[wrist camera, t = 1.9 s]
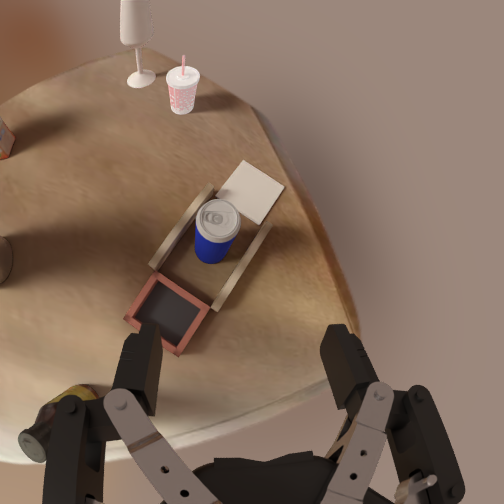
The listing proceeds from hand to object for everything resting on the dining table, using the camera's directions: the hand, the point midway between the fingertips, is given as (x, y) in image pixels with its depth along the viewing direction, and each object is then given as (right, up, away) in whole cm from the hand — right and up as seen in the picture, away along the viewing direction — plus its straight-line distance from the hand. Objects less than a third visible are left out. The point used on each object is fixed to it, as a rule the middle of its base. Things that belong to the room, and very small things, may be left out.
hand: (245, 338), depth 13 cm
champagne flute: (-25, +43, +37) cm, 62 cm away
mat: (0, +15, +36) cm, 39 cm away
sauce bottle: (-27, -21, +23) cm, 41 cm away
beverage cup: (-14, +34, +38) cm, 52 cm away
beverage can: (-6, +4, +33) cm, 34 cm away
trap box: (-13, -6, +29) cm, 32 cm away
